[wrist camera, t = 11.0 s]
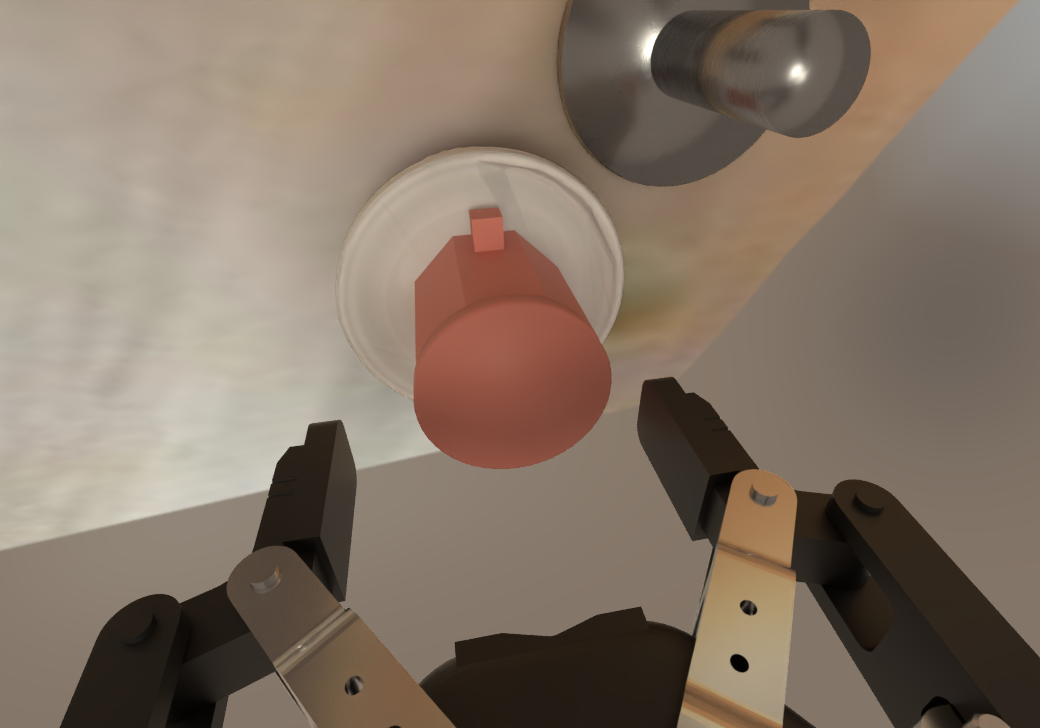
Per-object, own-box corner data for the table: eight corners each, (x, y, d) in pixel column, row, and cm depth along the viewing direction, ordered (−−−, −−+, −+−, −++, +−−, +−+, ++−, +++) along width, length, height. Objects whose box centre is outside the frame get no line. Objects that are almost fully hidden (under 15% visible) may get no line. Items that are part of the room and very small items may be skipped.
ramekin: (635, 207, 25) (682, 249, 21) (511, 381, 29) (528, 445, 25) (421, 63, 20) (423, 77, 16) (310, 295, 25) (289, 356, 20)
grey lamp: (513, 116, 22) (566, 171, 14) (649, -182, 17) (826, -324, 10) (695, 215, 25) (810, 298, 18) (843, -9, 21) (1074, -20, 14)
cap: (396, 210, 18) (391, 288, 13) (562, 195, 19) (620, 263, 13) (427, 388, 22) (432, 500, 17) (561, 371, 23) (604, 473, 18)
